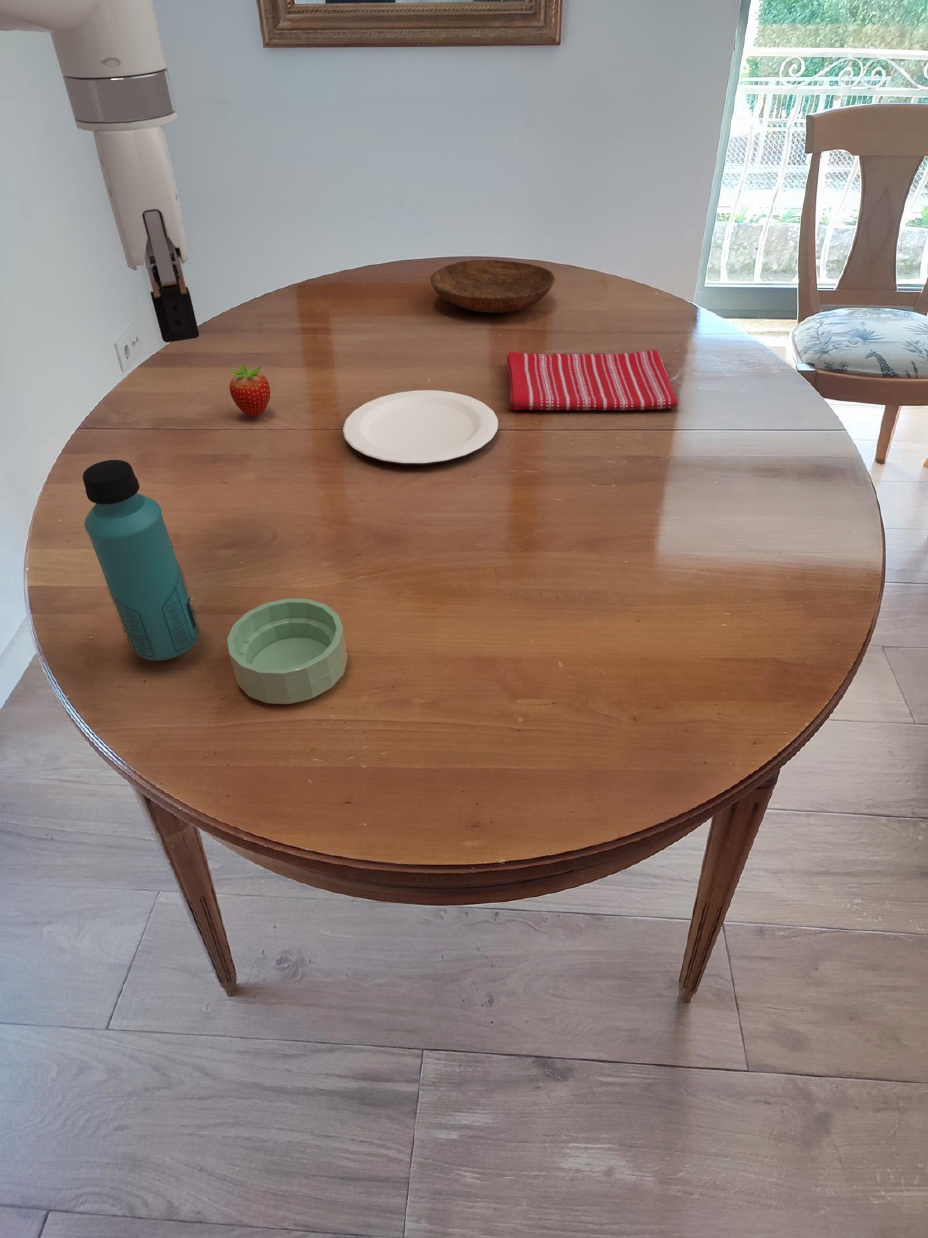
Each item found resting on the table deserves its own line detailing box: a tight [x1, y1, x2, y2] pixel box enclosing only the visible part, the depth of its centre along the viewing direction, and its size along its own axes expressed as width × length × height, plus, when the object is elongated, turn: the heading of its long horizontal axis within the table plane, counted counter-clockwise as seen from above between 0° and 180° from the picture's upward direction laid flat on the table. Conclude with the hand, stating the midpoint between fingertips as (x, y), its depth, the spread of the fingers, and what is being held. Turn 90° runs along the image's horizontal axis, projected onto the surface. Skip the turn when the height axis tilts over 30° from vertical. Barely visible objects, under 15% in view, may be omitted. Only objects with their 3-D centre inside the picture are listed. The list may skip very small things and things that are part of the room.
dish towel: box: [506, 349, 679, 411], centre depth 122 cm, size 17×24×3 cm
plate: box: [342, 389, 499, 466], centre depth 113 cm, size 21×21×2 cm
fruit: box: [228, 363, 271, 419], centre depth 116 cm, size 5×5×8 cm
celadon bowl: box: [226, 597, 349, 705], centre depth 77 cm, size 10×10×4 cm
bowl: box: [429, 259, 556, 314], centre depth 148 cm, size 20×22×5 cm
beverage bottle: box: [82, 459, 200, 662], centre depth 74 cm, size 6×7×20 cm
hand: (180, 336), depth 76 cm, fingers closed
